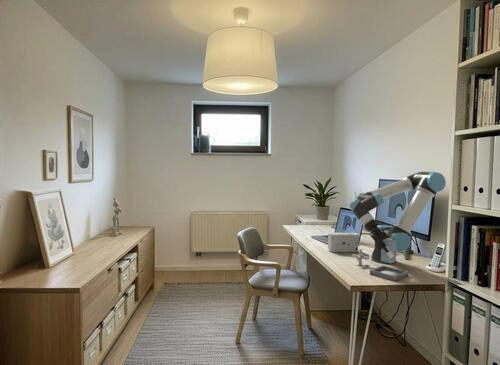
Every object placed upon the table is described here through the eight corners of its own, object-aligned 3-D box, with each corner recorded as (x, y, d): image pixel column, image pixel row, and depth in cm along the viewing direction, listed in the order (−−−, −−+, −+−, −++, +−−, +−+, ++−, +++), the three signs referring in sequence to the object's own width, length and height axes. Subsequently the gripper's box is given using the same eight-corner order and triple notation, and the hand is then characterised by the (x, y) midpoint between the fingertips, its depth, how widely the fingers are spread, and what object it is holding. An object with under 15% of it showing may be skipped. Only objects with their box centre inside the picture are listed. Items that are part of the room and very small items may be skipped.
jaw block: (385, 259, 191) (386, 237, 191) (395, 261, 187) (396, 239, 186) (380, 260, 188) (381, 238, 188) (391, 263, 184) (392, 240, 183)
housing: (382, 269, 199) (382, 265, 198) (408, 276, 187) (408, 271, 187) (369, 274, 189) (369, 270, 189) (395, 281, 177) (396, 277, 177)
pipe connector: (354, 261, 214) (355, 246, 214) (370, 264, 208) (371, 248, 208) (349, 265, 206) (350, 249, 205) (365, 268, 200) (366, 251, 200)
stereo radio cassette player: (355, 250, 245) (356, 223, 244) (359, 252, 237) (360, 225, 236) (327, 249, 244) (328, 222, 243) (330, 252, 236) (331, 224, 235)
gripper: (372, 224, 204) (397, 257, 193) (356, 227, 192) (382, 262, 181) (381, 217, 200) (407, 250, 188) (365, 220, 188) (392, 255, 177)
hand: (394, 256), depth 185 cm, fingers closed on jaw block, 5 cm apart
